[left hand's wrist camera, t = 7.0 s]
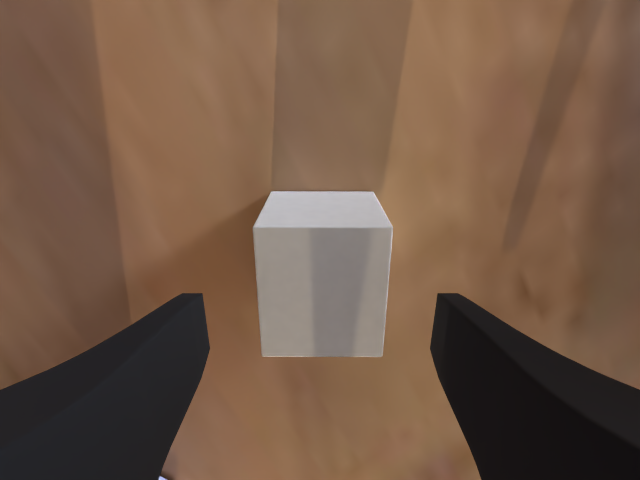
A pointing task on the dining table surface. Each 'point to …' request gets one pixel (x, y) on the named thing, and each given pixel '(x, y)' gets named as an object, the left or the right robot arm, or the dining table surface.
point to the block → (322, 274)
